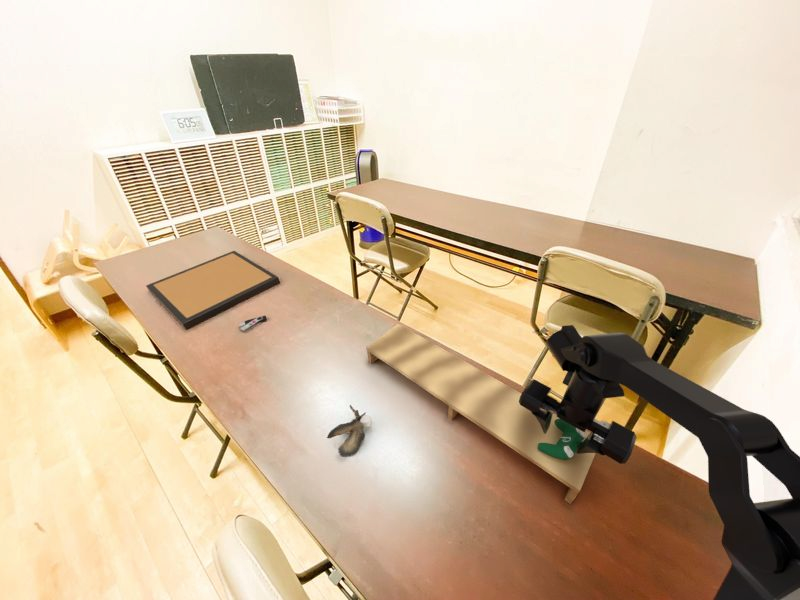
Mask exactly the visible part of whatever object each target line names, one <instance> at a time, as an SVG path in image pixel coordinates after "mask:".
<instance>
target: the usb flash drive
mask: <svg viewBox="0 0 800 600" xmlns="http://www.w3.org/2000/svg"><path fill="white" fill-rule="evenodd" d="M267 320H268V317H267V315H261V316H257V317H253V318H250V319H247V320H244V321H241V322H238V327H239V328H240V331H242V332H244V333H247V332H248V331H250V330H252V329H253V328H255V327H256V326H258V325H259V324H261V323H263V322H266V321H267Z"/></svg>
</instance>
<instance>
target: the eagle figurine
mask: <svg viewBox="0 0 800 600" xmlns="http://www.w3.org/2000/svg"><path fill="white" fill-rule="evenodd" d="M349 409H350V410H351V411H352V413H353V414H354V416H355V417H354V418H353V419H352V420H350V421H349V422H345V423H340V424H338V425H336V426H335V427H334V428H332V429H331V430H330V431H329V432H328V434H327V436H326V439H332V438H334V437H338V436H342V435H345V434H348V436H347V437H346V439H345V440H344V442H342V444H340V446H339V447H338V448H337V450H338V454H339V456H340V457H341V458H344V457H345V458H347V457H351V456H354V455H356V453H357V452H358V451H359V448H360V447H361V445H362V443H363V442H364V441H365V436H366V434H365V431H364V428H370V427H371V426H372V423H373V420H372V417H371V416H369V415H367V414H366V413H367V412H364V413H363V414H361V415H360V413H359V410H358V409H355V408H354V407H353V406H352V404H349Z"/></svg>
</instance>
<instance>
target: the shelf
mask: <svg viewBox="0 0 800 600" xmlns="http://www.w3.org/2000/svg"><path fill="white" fill-rule="evenodd" d="M366 350H367V351H366V353H367V361H368V363H369V364H370V365H372V364H374V363H375V362H376V361H377V360H378V359H379V360H380V361H382V362H383V363H385V364H387V365H388V366H390V367H391V368H392V369H393V370H395V371H396V372H398V373H400V374H401V375H403V376H404V377H406V378H407V379H408V380H410V381H411V382H412V383H414V384H416V385H417V386H418V387H420V388H421V389H423V390H424V391H426V392H428V393H429V394H431V395H432V396H434V397H435V398H437V399H438V400H439V401H441V402H442V403H444V404H445V405H447V406H448V410H447V419H449V420H450V421H453V419H455V417H456V416H457V415H458V414H460V415H461V416H463V417H465V418H466V419H468V420H469V421H471V422H472V423H474V424H475V425H477V426H478V427H479V428H481V429H482V430H484V431H485V432H487V433H488V434H490V435H491V436H493V437H494V438H495V439H497V440H498V441H500V442H501V443H503V444H504V445H506V446H507V447H509V448H511V449H512V450H513V451H515V452H517V453H518V454H519V455H521V456H522V457H524V458H525V459H527V460H528V461H530V462H531V463H532V464H534V465H536V466H537V467H538V468H540V469H542V471H544V472H546V473H548V474H549V475H550V476H552V477H553V478H554V479H556V480H558V481H559V482H561V483H562V484H564V485H565V486H566V487H567V488H568V490H567V492H566V495H565V497H564V501H566V502H567V503H568V504H569V505H572V503H573V502H574V500H576V497H577V496H578V495H579V493H580V492H581V489H582V487H583V485H584V483H585V480H586V478H587V476H588V473H589V471H590V468H591V465H592V463H593V461H594V458H595V456H596V454H597V453H582V454H577V453H576V452H577V451H576V452H575V454H574V456H573V457H572V458H571V459H567V460H562V459H557V458H554V457H552V456H549V455H547V454H545V453H543V452H541V451H540V450H538V443H549V444H554V445H556V443H557V442H558V440H559V439H560V437H561V436H562V435H563V432H562V431H561V430H560V429H559V428H558V427H557V426H556V425H555V420H556V419H560V418H558V417H556V416H557V415H555V414H553V415H552V419H551V423H550V427H549V429H548V431H547V433H546V434H545V433H544V432H543V430H542V427H541V425H540V423H539V421H538V420H537V418H536V417H535V416H534V415H533V414H532V413H531V411H530V410H528V409H526V408H525V407H523V406H521V405H520V403H519V399H520V396H521V394H522V392H519V391H518V390H516V389H514V388H512V387H511V386H509V385H507V384H506V383H503V382H502V381H500V380H498V379H497V378H495V377H493V376H491V375H490V374H488V373H486V372H484V371H482V370H481V369H479V368H477V367H476V366H474V365H472V364H470V363H468V362H467V361H465V360H464V359H462V358H460V357H458V356H456V355H455V354H452V353H451V352H450V351H447V350H445V349H443V348H442V347H440V346H439V345H436V344H435V343H433V342H431V341H430V340H428V339H426V338H424V337H422V336H421V335H419V334H418V333H415V332H414V331H412V330H410V329H408V328H407V327H405V326H403V325H402V324H400V323H397V324H395V325H394V326H393V327H391V328H390V329H389V330H387V331H386V332H385V333H383V334H382V335H381V336H380V337H378V338H377V339H376V340H374V341H373V342H371V343H370V344H369V345H367V346H366ZM590 433H591V431H589V430H587V429H586V430H585V438H586V437H587V436H588V435H589V434H590ZM585 438H584V440H585ZM584 440H583V441H584ZM583 441H582V442H583ZM577 450H578V449H577Z"/></svg>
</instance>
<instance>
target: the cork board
mask: <svg viewBox="0 0 800 600" xmlns="http://www.w3.org/2000/svg"><path fill="white" fill-rule="evenodd" d="M279 284H281V281H280V278H279V276H277V275H276V274H274V273H272V272H270V271H269V270H268V269H266V268H264V267H262V266H261V265H259V264H257V263H256V262H254V261H252V260H251V259H250V258H248V257H245V256H244V255H242V254H241V253H239V252H237V251H236V250H233V251H230V252H227V253H224V254H222V255H220V256H217V257H214V258H212V259H210V260H206V261H205V262H202V263H199V264H197V265H194V266H192V267H189V268H187V269H185V270H182V271H179V272H177V273H174V274H172V275H169V276H166V277H164V278H162V279H159V280H157V281H154V282H151V283H149V284H146V285H145V287H146V288H147V291H148V292H149V293H150V294H151V295H152V296H153V297H154V298H155V299H156V300H157V301H158V302H159V304H160V305H161V306H162V307H163V308H164V309H165V310H166V311H167V312H168V313H169V315H171V316H172V317H173V318H174V319H175V320H176V321H177V323H179V324H180V325H181V326H182V328H184V330H186V331H189V330H190V329H192V328H195V327H196V326H198V325H200V324H203V323H204V322H206V321H209V320H210V319H212V318H214V317H216V316H218V315H220V314H222V313H224V312H226V311H228V310H229V309H232V308H234V307H235V306H238V305H239V304H242V303H243V302H246V301H248V300H250V299H251V298H253V297H256V296H257V295H259V294H261V293H264V292H265V291H267V290H269V289H272V288H273V287H275V286H278V285H279Z"/></svg>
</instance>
